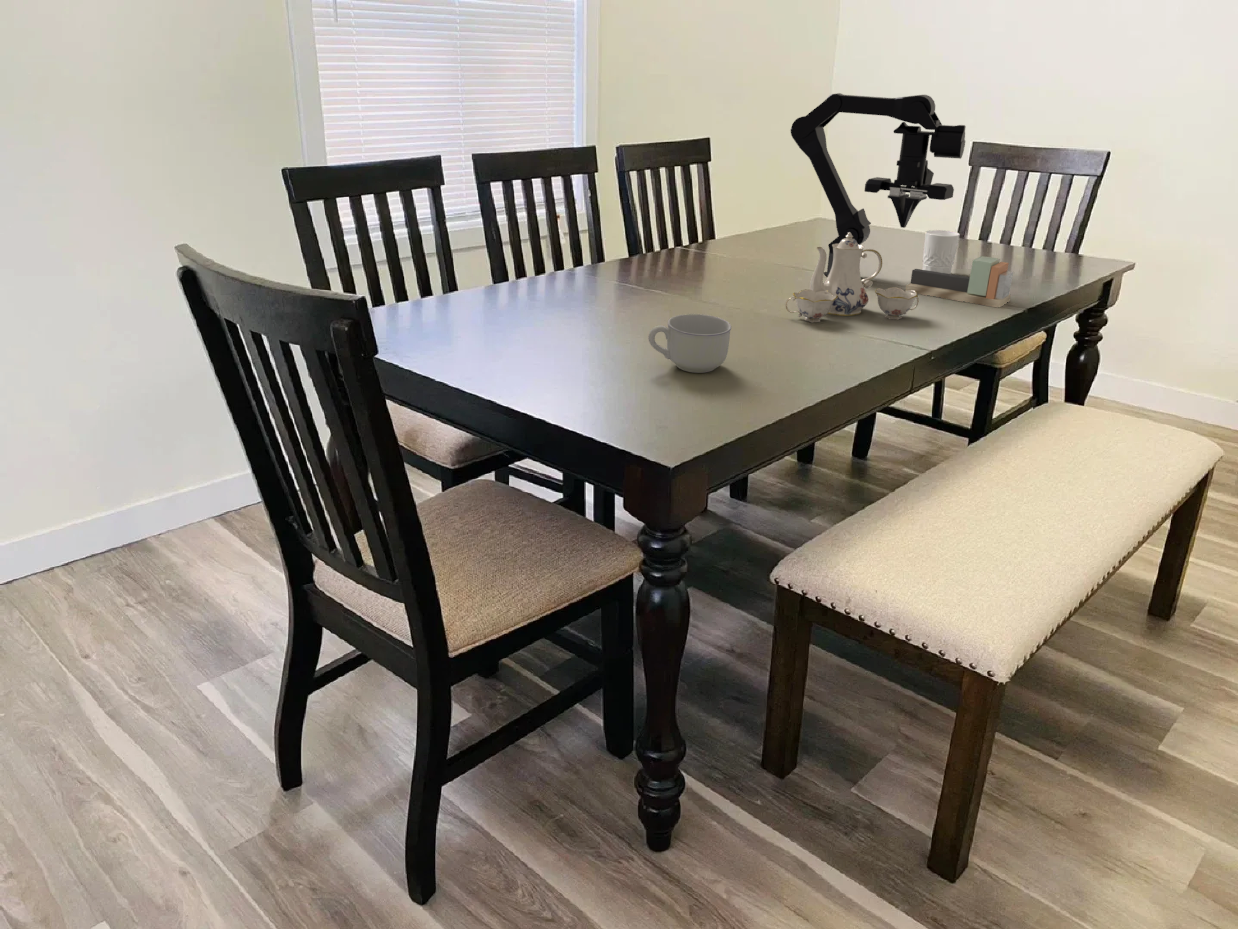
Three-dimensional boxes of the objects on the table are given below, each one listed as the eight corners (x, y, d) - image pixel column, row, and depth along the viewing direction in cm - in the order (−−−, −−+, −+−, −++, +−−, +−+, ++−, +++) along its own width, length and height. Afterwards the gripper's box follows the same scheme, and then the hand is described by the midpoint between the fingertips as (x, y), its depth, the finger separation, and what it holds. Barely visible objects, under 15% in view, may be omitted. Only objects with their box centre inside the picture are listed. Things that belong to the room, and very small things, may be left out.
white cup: (948, 271, 229) (955, 230, 225) (956, 278, 222) (963, 236, 217) (916, 270, 229) (922, 229, 225) (922, 277, 222) (929, 235, 218)
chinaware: (800, 336, 181) (812, 253, 172) (766, 306, 194) (776, 228, 186) (925, 328, 188) (943, 248, 179) (884, 299, 201) (899, 224, 193)
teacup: (723, 357, 162) (726, 313, 159) (732, 378, 152) (736, 331, 149) (645, 357, 162) (646, 313, 158) (648, 377, 152) (650, 330, 148)
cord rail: (910, 283, 210) (912, 270, 208) (913, 281, 211) (915, 268, 210) (997, 297, 199) (999, 283, 197) (1000, 295, 200) (1002, 282, 199)
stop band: (985, 297, 198) (991, 266, 195) (995, 292, 203) (1001, 261, 200) (993, 299, 197) (999, 267, 194) (1002, 293, 202) (1008, 262, 199)
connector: (995, 298, 198) (999, 274, 196) (1002, 294, 201) (1006, 270, 199) (1001, 299, 197) (1006, 275, 195) (1008, 295, 200) (1013, 271, 198)
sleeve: (967, 293, 201) (972, 259, 198) (975, 288, 205) (981, 256, 202) (985, 296, 198) (991, 262, 195) (993, 291, 202) (1000, 258, 199)
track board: (905, 291, 208) (906, 285, 208) (917, 286, 213) (918, 279, 213) (999, 307, 197) (1000, 300, 196) (1009, 301, 202) (1010, 294, 201)
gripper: (967, 156, 204) (956, 227, 211) (888, 149, 215) (879, 218, 221) (949, 160, 196) (938, 234, 203) (867, 153, 207) (859, 224, 213)
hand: (903, 227), depth 210 cm, fingers closed
